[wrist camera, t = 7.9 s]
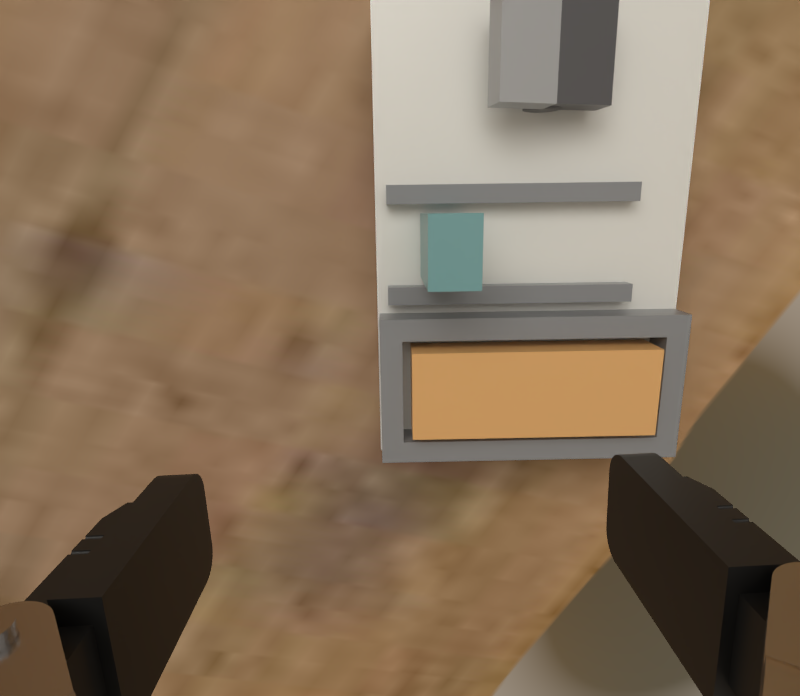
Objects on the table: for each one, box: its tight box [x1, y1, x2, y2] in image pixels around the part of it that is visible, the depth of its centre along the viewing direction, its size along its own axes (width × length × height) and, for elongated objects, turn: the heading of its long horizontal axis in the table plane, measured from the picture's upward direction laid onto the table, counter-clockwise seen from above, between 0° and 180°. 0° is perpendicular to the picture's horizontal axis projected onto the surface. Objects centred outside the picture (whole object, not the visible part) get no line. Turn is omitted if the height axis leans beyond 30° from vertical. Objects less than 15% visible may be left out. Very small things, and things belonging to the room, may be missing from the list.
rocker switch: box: [488, 0, 619, 113], centre depth 22 cm, size 5×4×2 cm
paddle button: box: [410, 339, 664, 440], centre depth 25 cm, size 11×4×2 cm, turn 91°
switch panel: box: [370, 0, 710, 463], centre depth 25 cm, size 14×20×5 cm
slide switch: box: [420, 213, 484, 292], centre depth 22 cm, size 2×3×5 cm
